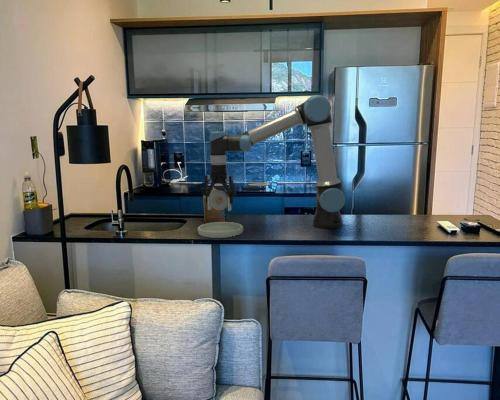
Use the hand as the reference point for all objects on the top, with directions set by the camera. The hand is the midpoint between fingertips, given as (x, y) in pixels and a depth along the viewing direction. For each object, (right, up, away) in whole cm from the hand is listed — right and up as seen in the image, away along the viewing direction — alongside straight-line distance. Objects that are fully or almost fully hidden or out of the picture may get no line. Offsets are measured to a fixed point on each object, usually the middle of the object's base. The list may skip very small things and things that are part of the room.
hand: (219, 209), depth 206 cm
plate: (0, -11, +2) cm, 11 cm away
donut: (0, 0, 0) cm, 0 cm away
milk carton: (-5, -7, +26) cm, 27 cm away
